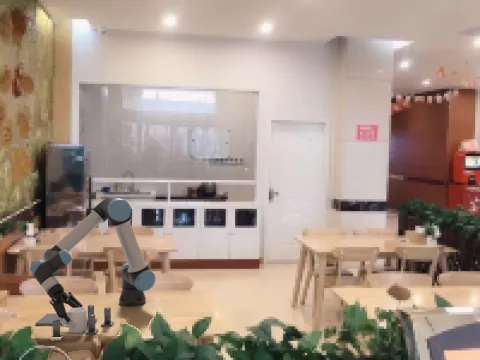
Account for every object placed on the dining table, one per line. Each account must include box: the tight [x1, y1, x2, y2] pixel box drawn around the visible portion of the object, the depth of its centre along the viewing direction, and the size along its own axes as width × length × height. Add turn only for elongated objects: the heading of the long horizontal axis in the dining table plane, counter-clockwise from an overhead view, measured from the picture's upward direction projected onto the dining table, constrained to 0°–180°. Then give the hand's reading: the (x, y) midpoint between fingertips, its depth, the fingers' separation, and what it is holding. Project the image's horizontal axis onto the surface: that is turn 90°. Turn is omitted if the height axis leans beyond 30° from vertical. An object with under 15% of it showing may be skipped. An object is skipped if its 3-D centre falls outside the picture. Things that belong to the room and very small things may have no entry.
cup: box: [61, 306, 88, 334], centre depth 248 cm, size 8×12×10 cm
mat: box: [34, 313, 69, 326], centre depth 264 cm, size 20×16×1 cm
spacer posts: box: [51, 304, 115, 337], centre depth 248 cm, size 23×29×8 cm
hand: (80, 323), depth 247 cm, fingers closed on cup, 8 cm apart
